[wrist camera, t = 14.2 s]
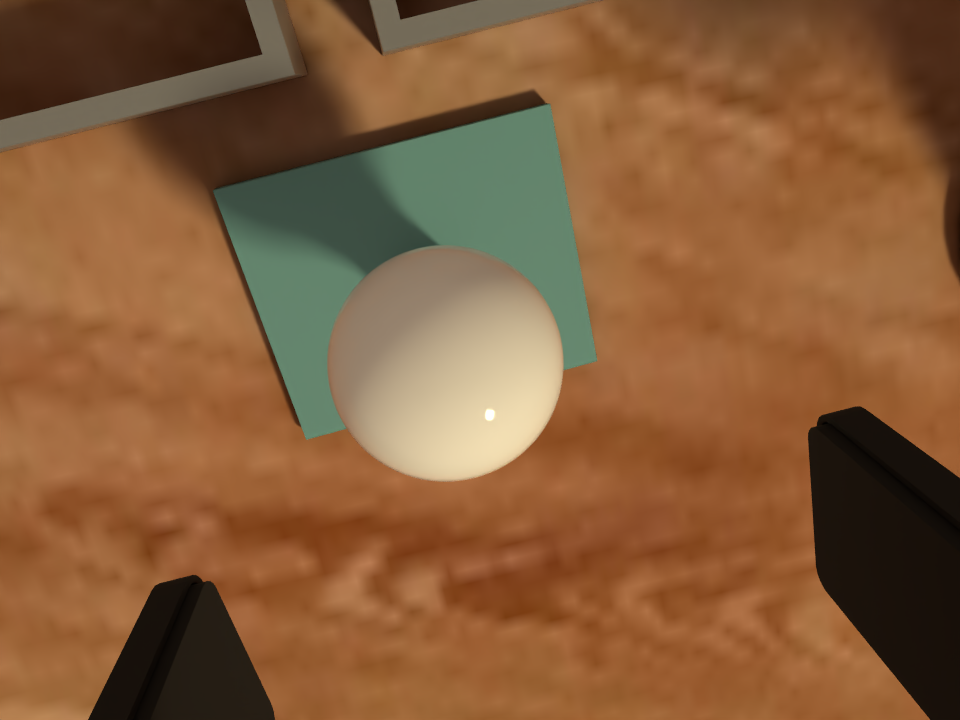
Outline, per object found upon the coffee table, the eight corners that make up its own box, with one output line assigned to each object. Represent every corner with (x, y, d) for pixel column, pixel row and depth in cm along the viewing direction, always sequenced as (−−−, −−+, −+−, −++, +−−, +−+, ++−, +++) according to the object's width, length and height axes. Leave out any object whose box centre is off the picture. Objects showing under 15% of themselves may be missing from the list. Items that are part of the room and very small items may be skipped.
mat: (546, 103, 25) (550, 104, 25) (593, 355, 29) (597, 360, 29) (216, 187, 25) (212, 190, 25) (307, 432, 29) (306, 439, 28)
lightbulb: (528, 334, 28) (614, 487, 18) (371, 381, 28) (369, 561, 18) (487, 175, 25) (561, 247, 15) (315, 225, 25) (276, 331, 15)
